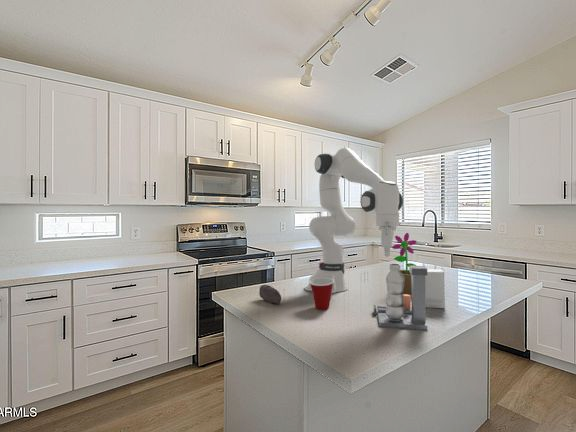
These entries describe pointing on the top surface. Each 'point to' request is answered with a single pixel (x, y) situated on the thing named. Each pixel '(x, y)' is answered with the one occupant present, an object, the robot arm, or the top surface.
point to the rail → (383, 310)
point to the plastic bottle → (395, 292)
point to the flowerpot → (401, 259)
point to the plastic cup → (321, 292)
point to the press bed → (418, 304)
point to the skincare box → (434, 289)
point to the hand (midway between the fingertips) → (387, 256)
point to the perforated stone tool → (270, 294)
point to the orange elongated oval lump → (407, 302)
